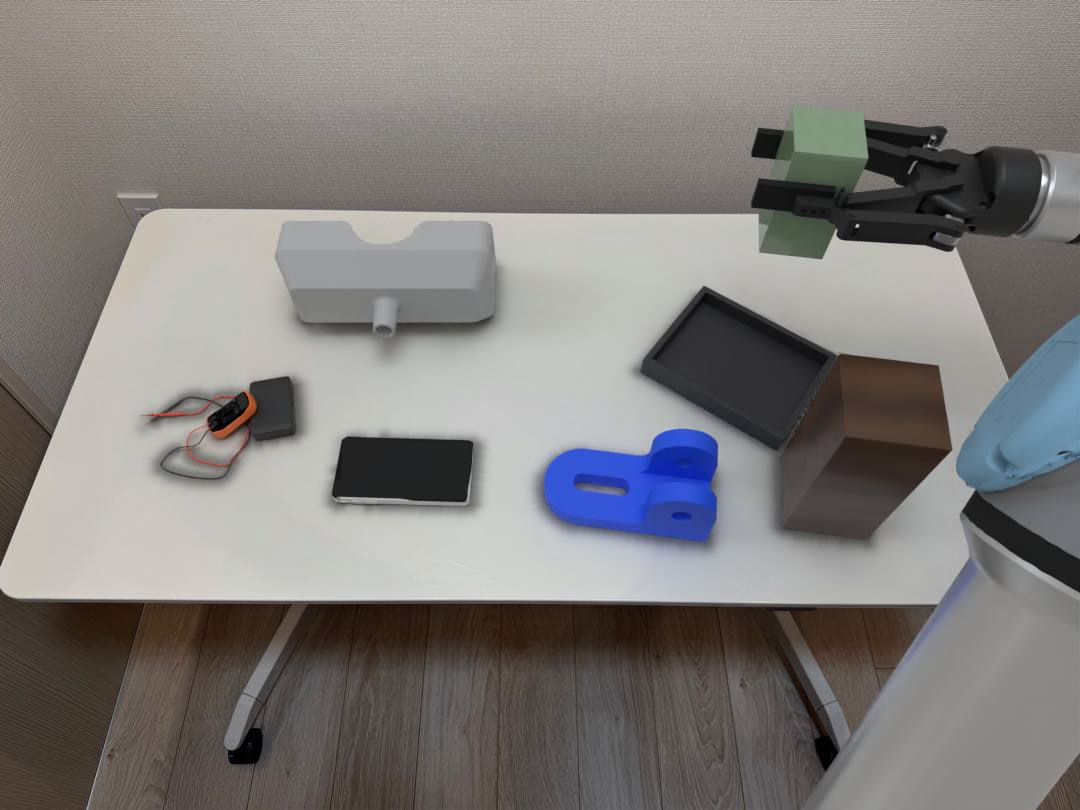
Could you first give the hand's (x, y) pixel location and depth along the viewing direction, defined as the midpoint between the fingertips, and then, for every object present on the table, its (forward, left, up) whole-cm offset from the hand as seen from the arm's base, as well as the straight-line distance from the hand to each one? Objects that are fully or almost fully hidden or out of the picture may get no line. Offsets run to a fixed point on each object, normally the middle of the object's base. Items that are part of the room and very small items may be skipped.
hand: (755, 167), depth 69 cm
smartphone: (-33, +19, -31) cm, 48 cm away
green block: (+2, -5, -7) cm, 9 cm away
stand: (-7, -21, -31) cm, 38 cm away
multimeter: (-42, +39, -31) cm, 65 cm away
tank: (-16, +35, -31) cm, 49 cm away
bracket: (-20, -3, -31) cm, 37 cm away
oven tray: (+2, -5, -31) cm, 31 cm away
